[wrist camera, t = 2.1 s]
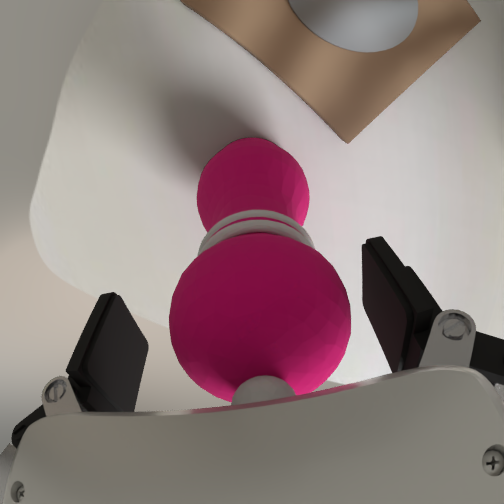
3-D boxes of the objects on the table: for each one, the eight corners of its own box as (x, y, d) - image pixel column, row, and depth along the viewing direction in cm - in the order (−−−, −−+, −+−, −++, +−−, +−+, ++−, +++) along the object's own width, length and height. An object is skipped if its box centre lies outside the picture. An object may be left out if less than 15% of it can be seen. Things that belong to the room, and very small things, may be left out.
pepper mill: (219, 119, 21) (116, 295, 4) (311, 147, 23) (466, 359, 6) (195, 204, 25) (122, 454, 8) (279, 227, 26) (324, 476, 9)
